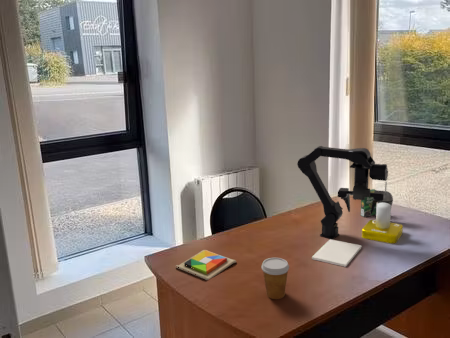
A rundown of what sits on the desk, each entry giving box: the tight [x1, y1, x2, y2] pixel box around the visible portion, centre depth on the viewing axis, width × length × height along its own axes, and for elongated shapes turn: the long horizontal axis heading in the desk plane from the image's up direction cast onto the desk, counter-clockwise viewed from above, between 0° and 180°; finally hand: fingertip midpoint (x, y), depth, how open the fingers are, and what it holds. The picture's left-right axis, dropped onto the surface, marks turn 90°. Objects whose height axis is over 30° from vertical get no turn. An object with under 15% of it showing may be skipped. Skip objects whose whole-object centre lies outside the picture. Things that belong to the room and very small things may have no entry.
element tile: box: [361, 219, 404, 245], centre depth 200 cm, size 15×15×5 cm
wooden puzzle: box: [175, 249, 237, 281], centre depth 178 cm, size 18×19×4 cm
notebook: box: [311, 239, 362, 268], centre depth 184 cm, size 14×20×1 cm
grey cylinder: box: [375, 202, 392, 229], centre depth 197 cm, size 6×6×10 cm
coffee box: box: [360, 188, 378, 218], centre depth 223 cm, size 8×3×13 cm, turn 112°
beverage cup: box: [377, 181, 394, 207], centre depth 212 cm, size 7×7×20 cm
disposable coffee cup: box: [261, 257, 290, 300], centre depth 154 cm, size 10×10×12 cm
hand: (360, 212), depth 192 cm, fingers open, 9 cm apart
